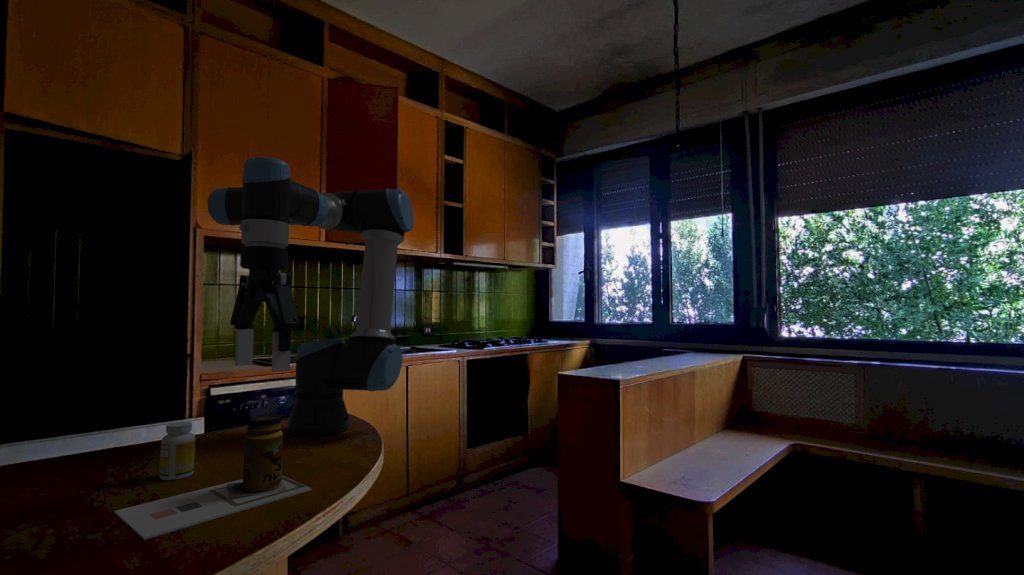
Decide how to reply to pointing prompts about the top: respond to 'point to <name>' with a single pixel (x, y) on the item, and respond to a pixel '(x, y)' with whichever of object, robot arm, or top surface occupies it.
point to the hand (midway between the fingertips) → (261, 368)
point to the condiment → (261, 458)
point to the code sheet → (197, 508)
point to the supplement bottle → (177, 452)
